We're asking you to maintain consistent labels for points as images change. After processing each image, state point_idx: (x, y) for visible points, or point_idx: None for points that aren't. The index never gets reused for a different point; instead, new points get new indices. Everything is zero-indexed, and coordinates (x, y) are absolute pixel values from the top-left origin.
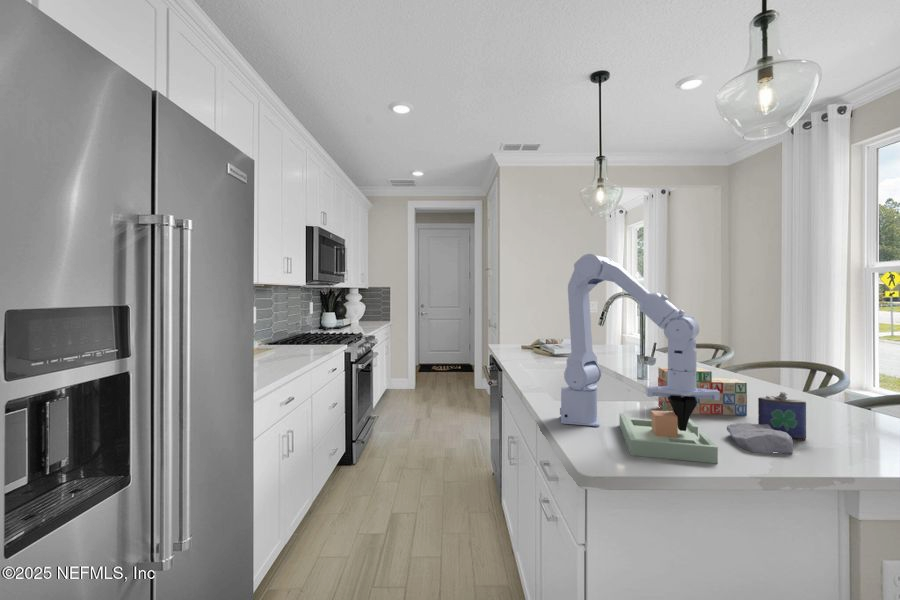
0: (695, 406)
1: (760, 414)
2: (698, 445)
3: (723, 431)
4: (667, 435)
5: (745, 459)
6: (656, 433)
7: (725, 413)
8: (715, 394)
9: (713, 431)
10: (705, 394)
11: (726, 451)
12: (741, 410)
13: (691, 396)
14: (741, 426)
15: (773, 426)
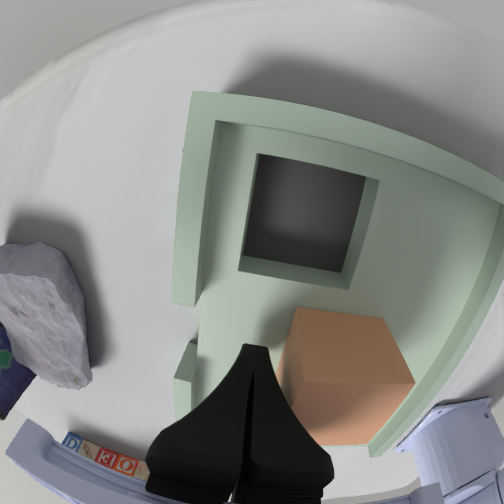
0: (169, 427)
1: (17, 388)
2: (289, 103)
3: (104, 391)
4: (339, 314)
5: (96, 172)
6: (383, 323)
7: (96, 446)
8: (27, 452)
9: (126, 395)
10: (73, 479)
11: (126, 246)
12: (71, 441)
13: (169, 499)
14: (54, 364)
15: (12, 355)
